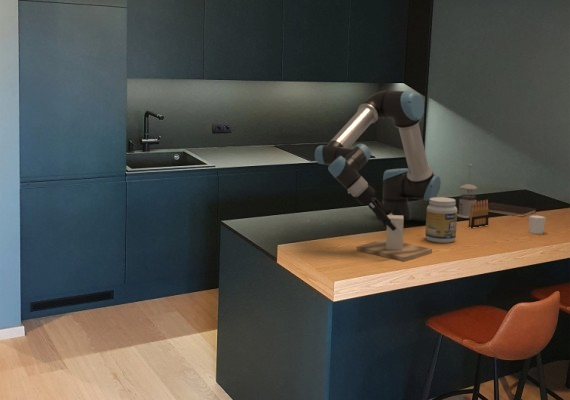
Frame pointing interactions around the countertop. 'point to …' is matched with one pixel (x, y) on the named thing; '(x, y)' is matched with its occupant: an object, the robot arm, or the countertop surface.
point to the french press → (466, 200)
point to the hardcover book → (509, 209)
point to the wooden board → (402, 255)
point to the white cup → (536, 224)
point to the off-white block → (391, 238)
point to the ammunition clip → (478, 214)
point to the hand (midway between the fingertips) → (400, 231)
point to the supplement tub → (441, 220)
